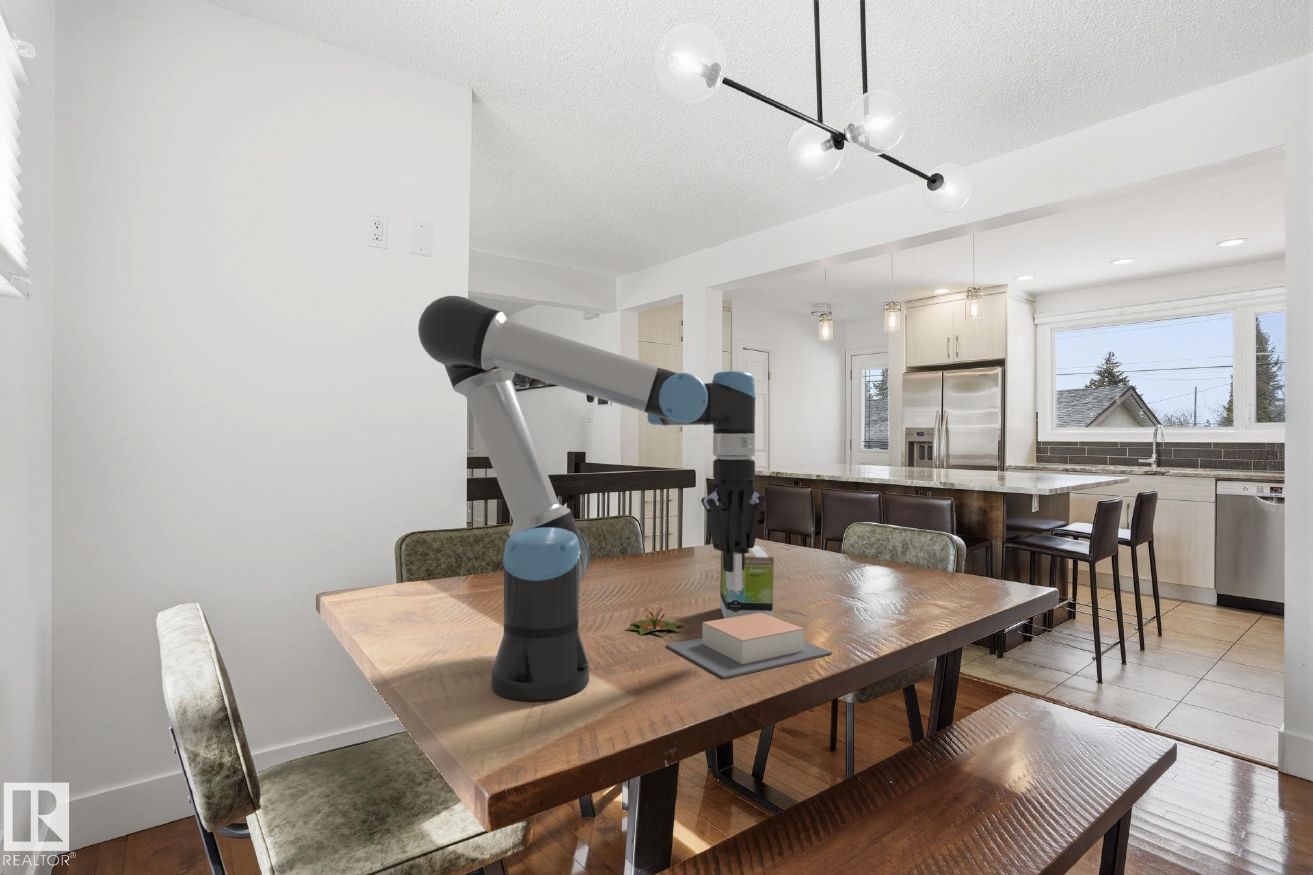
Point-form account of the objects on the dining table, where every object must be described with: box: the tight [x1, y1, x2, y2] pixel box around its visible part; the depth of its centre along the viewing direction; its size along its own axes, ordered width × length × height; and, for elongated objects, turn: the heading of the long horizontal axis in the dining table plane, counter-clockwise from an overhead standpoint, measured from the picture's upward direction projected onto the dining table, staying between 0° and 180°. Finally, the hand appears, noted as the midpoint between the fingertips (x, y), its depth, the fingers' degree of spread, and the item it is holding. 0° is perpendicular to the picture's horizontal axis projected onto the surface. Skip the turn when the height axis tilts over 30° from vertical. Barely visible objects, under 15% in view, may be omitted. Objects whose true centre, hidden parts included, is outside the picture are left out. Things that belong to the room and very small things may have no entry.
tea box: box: [719, 545, 775, 619], centre depth 135 cm, size 15×10×15 cm
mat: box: [665, 637, 833, 680], centre depth 113 cm, size 24×18×1 cm
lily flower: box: [624, 607, 683, 638], centre depth 127 cm, size 12×12×5 cm
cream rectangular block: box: [701, 613, 805, 664], centre depth 114 cm, size 4×12×14 cm
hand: (733, 588), depth 112 cm, fingers closed
